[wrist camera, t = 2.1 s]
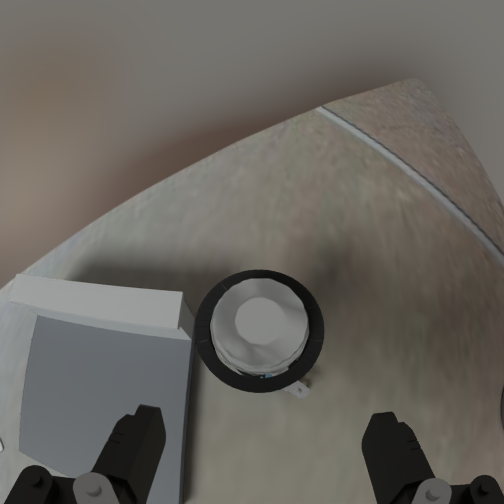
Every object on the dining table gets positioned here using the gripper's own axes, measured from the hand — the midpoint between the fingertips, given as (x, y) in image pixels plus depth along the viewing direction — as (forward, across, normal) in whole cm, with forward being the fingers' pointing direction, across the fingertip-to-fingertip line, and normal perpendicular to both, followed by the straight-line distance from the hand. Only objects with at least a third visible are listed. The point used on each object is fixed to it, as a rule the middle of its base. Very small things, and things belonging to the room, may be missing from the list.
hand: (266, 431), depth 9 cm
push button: (+9, 0, +4) cm, 10 cm away
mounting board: (+6, +12, +7) cm, 15 cm away
